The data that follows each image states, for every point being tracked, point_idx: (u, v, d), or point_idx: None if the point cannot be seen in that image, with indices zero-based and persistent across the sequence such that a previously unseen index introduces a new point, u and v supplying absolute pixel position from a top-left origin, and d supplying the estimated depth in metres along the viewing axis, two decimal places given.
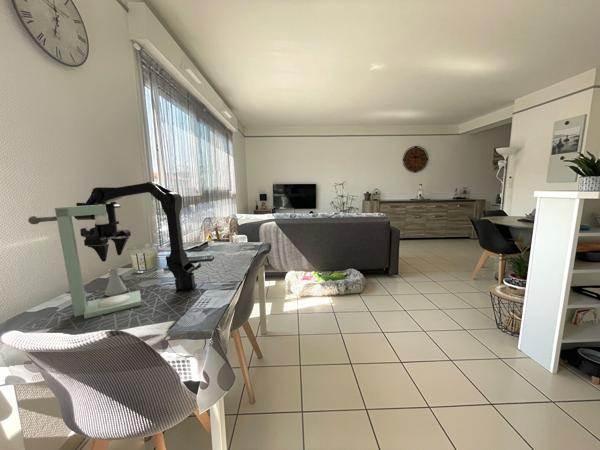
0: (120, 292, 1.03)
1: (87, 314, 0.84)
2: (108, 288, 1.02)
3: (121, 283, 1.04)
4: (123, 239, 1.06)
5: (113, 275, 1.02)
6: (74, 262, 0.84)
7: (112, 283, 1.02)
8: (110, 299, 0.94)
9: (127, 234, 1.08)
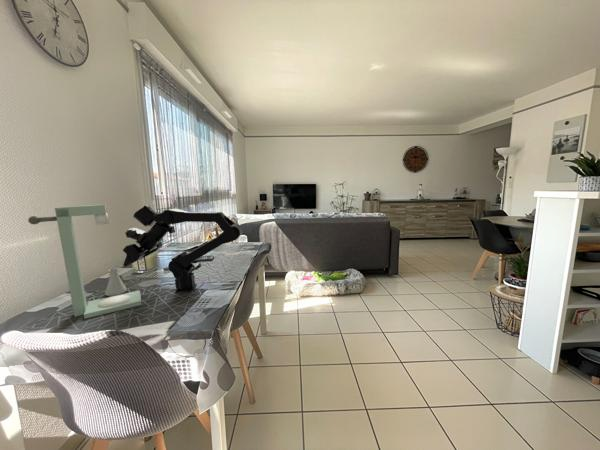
0: (120, 292, 1.03)
1: (87, 314, 0.84)
2: (108, 288, 1.02)
3: (121, 283, 1.04)
4: (152, 250, 1.08)
5: (113, 275, 1.02)
6: (74, 262, 0.84)
7: (112, 283, 1.02)
8: (110, 299, 0.94)
9: (158, 248, 1.09)
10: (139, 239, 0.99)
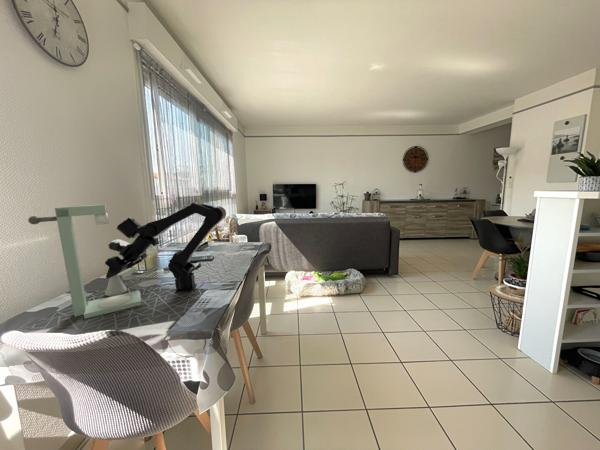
0: (120, 292, 1.03)
1: (87, 314, 0.84)
2: (108, 288, 1.02)
3: (121, 283, 1.04)
4: (136, 262, 1.08)
5: None
6: (74, 262, 0.84)
7: (112, 283, 1.02)
8: (110, 299, 0.94)
9: (143, 259, 1.09)
10: (122, 251, 0.99)
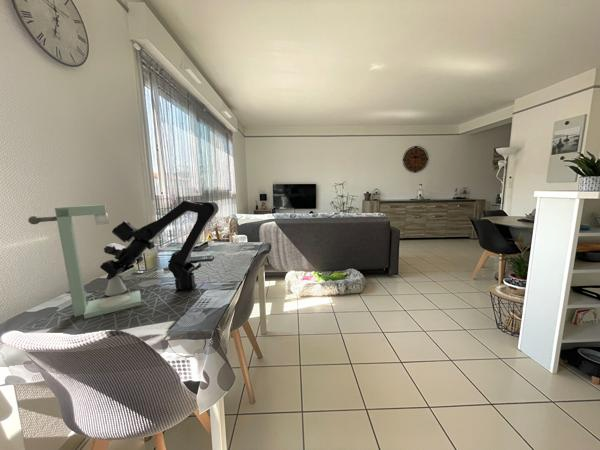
0: (120, 292, 1.03)
1: (87, 314, 0.84)
2: (108, 288, 1.02)
3: (121, 283, 1.04)
4: (128, 267, 1.05)
5: None
6: (74, 262, 0.84)
7: (112, 283, 1.02)
8: (110, 299, 0.94)
9: (139, 262, 1.10)
10: (118, 255, 0.99)
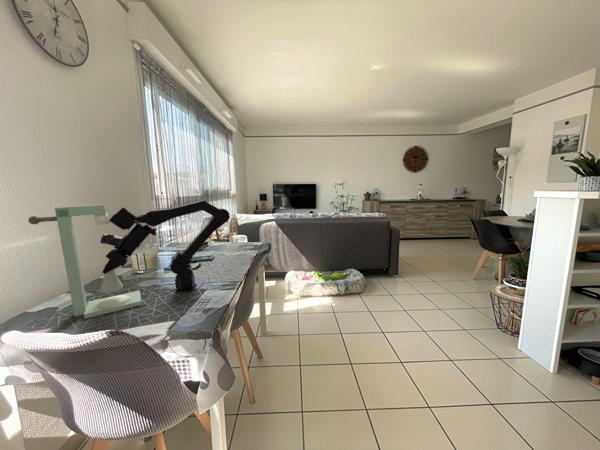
0: (119, 287, 0.94)
1: (87, 314, 0.84)
2: (104, 284, 0.91)
3: (117, 278, 0.95)
4: None
5: None
6: (74, 262, 0.84)
7: (110, 278, 0.92)
8: (110, 299, 0.94)
9: None
10: (118, 244, 0.91)
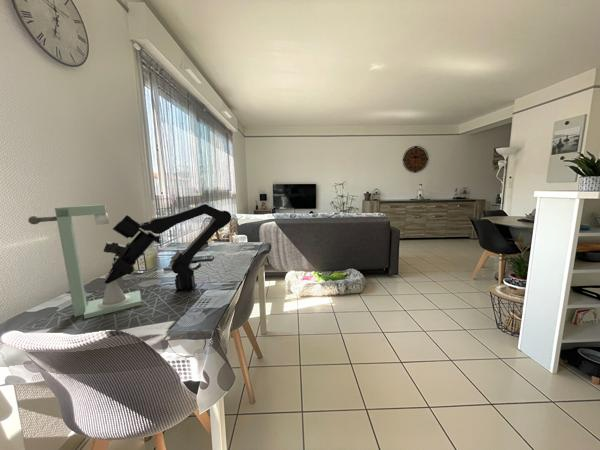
0: (123, 298, 0.92)
1: (87, 314, 0.84)
2: (108, 296, 0.90)
3: (120, 289, 0.93)
4: None
5: None
6: (74, 262, 0.84)
7: (113, 289, 0.90)
8: None
9: None
10: (122, 252, 0.90)
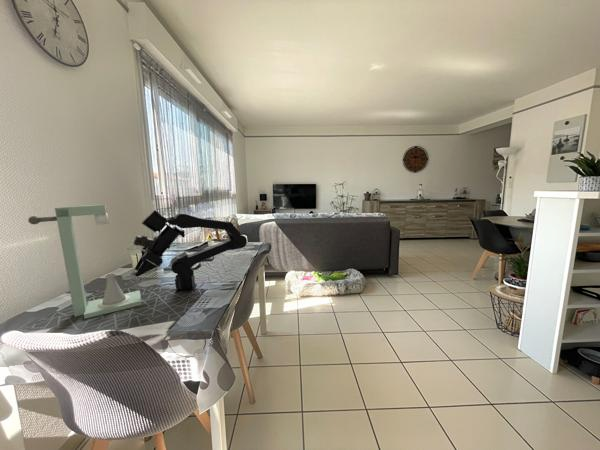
0: (123, 298, 0.92)
1: (87, 314, 0.84)
2: (108, 296, 0.90)
3: (120, 289, 0.93)
4: None
5: (112, 280, 0.91)
6: (74, 262, 0.84)
7: (113, 289, 0.90)
8: None
9: None
10: (151, 246, 0.95)
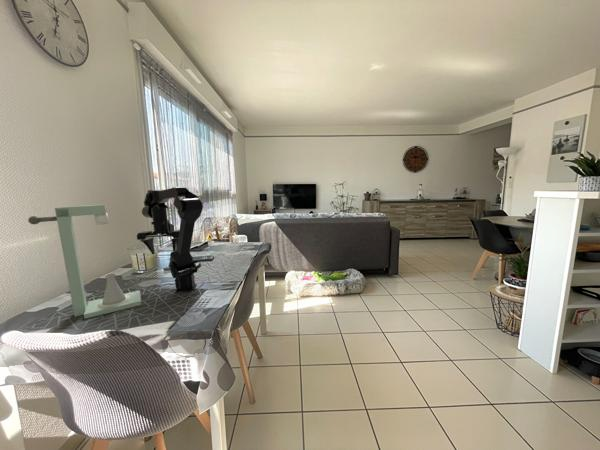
0: (123, 298, 0.92)
1: (87, 314, 0.84)
2: (108, 296, 0.90)
3: (120, 289, 0.93)
4: None
5: (112, 280, 0.91)
6: (74, 262, 0.84)
7: (113, 289, 0.90)
8: None
9: (174, 235, 1.09)
10: None
